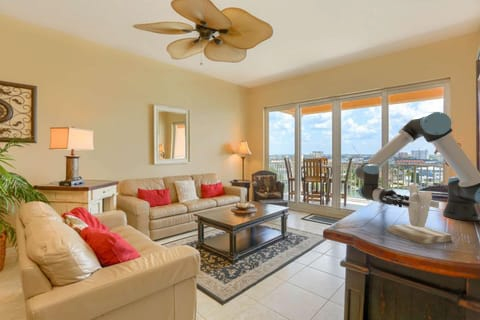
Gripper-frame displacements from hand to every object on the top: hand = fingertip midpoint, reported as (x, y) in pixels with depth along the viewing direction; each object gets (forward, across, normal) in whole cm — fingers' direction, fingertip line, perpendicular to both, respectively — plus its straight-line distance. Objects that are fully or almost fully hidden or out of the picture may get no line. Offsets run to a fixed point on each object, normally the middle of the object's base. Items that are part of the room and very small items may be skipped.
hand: (428, 205), depth 102 cm
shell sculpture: (-4, 0, -10) cm, 11 cm away
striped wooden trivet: (-4, 0, -14) cm, 15 cm away
